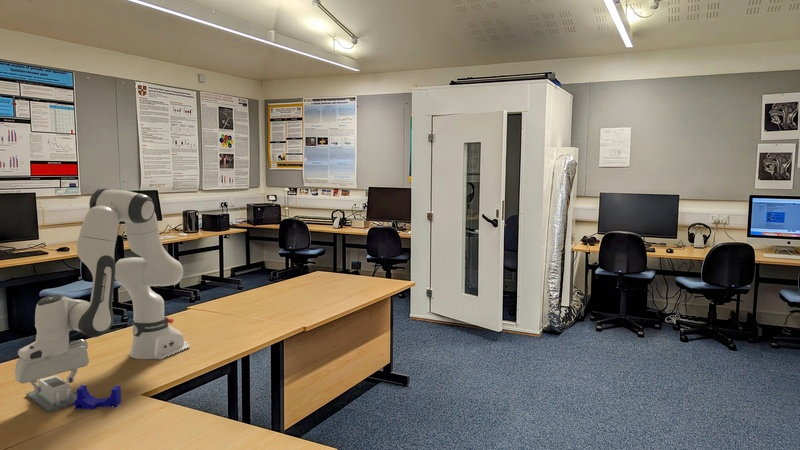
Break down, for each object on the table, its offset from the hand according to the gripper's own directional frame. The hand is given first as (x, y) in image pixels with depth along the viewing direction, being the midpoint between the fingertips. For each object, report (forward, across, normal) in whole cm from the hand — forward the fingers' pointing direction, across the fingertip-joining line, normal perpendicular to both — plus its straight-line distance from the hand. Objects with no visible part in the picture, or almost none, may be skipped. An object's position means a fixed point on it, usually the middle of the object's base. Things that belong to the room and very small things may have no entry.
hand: (54, 386), depth 170 cm
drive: (+3, 0, 0) cm, 3 cm away
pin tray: (+4, 0, 0) cm, 4 cm away
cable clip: (+4, -7, +14) cm, 17 cm away
